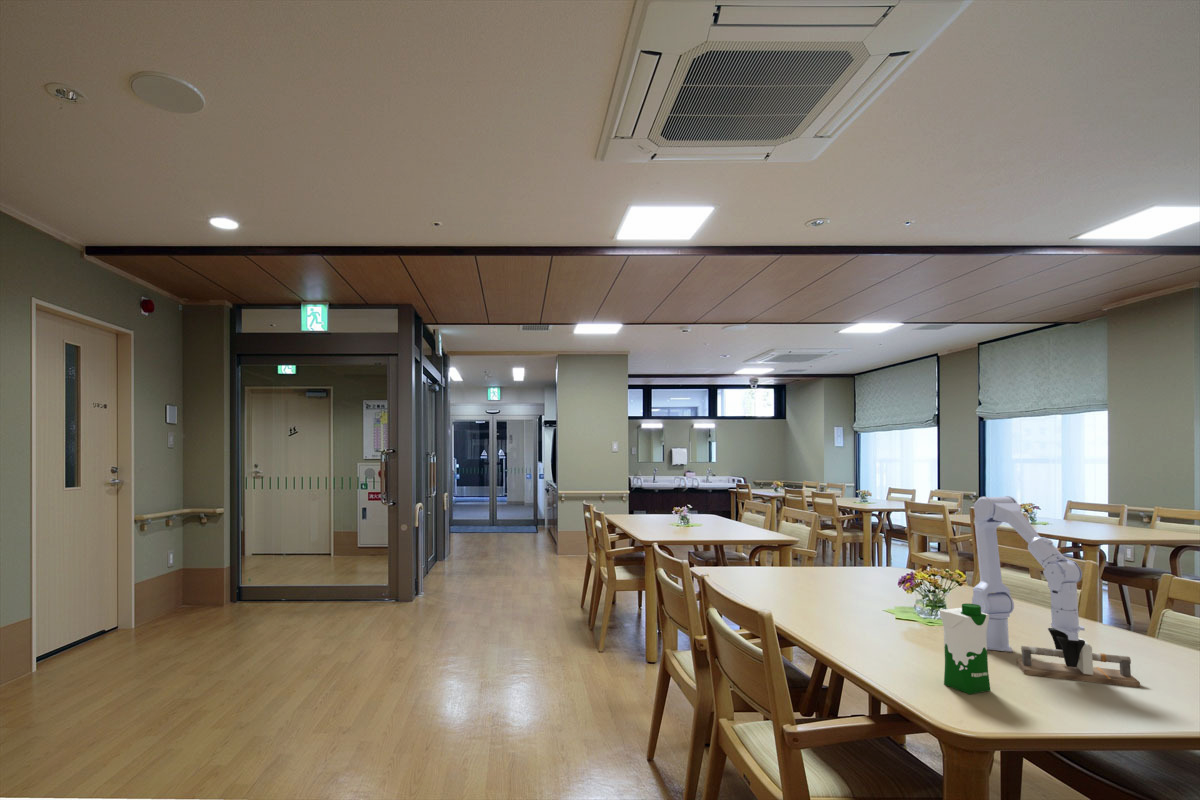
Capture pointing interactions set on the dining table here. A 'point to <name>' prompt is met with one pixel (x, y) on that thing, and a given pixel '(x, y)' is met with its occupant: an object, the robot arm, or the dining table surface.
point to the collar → (1085, 659)
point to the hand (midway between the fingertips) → (1067, 661)
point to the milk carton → (966, 648)
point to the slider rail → (1074, 673)
